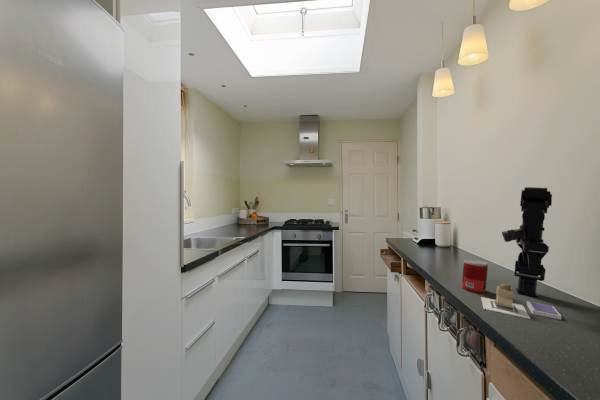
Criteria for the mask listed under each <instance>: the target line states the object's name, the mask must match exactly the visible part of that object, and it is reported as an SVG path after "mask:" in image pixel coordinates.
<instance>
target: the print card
mask: <svg viewBox="0 0 600 400" xmlns="http://www.w3.org/2000/svg"><path fill="white" fill-rule="evenodd" d="M480 298H481V299H480V300H481V302H482V303H481V304H482V308H483V310H485V309H486V311H490V312H494V313H499V312H500V314H505V315H509V316H513V317H514V316H515V317H519V318H522V319H528V320H531V317H530V315H529V313H528V312H527V310H526V309H525V307H524V305H523V304H519V303H514V302H513V305H512V307H513V311H512V310H508V309H503V308H498V307H496V305H495V301H496V299H493V298H488V297H482V296H480Z"/></svg>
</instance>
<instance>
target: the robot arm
mask: <svg viewBox="0 0 600 400" xmlns="http://www.w3.org/2000/svg"><path fill="white" fill-rule="evenodd" d="M552 199H553V194H552V193H551V191H550V190H548V188H547V187H532V186H531V187H530V186H528V187H527V186H526V187H524V189H523V190H522V189H521V193H520V204H519V207H521V208H520V209H521V212H522V215H521V217H522V224H521V225H519V228H515V229H513V228H512V229H510V230H509V229H508V230H505V231H501V235H502V237H503V240H504V242H505V243H508V242H511V241H515V243H516V245H517V246H518V247H519V248H520V249H521V252H519V253H518V257H517V260H515V262H514V264H515V265H514V275H513V276H514V277H518V279H517V287H515V288H514V290H515V292H516V293H517V294H519V295H524V296H525V295H526V296H529V297H537V298H539V297H540V295H539V293H538V292H537V287H538V281H540V282H542V281H545V278H546V276H545V275H546V268H545V266H544V264H542V260H543V259H544V257H545V256H546V255H547V253H549V249H550V246H548V244H546V243H545V242H544V239H543V233H544V231H545V227H544V221H545V219H546V216H545V214H547V213H548V209H549V208H550V207H552Z"/></svg>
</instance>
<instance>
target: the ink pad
mask: <svg viewBox="0 0 600 400" xmlns="http://www.w3.org/2000/svg"><path fill="white" fill-rule="evenodd" d="M526 306H527V308H528V309H529V311H530V313H531V314H532V315H536V316H541V317H546V318H549V319H550V318H551V319H555V320H559V321H560V320H562V314H561V313H560V312H558V310H557V309H556V308H555V307H554V305H549V304H548V305H547V304H543V303H537V302H533V301H528V300H527V301H526Z"/></svg>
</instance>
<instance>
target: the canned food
mask: <svg viewBox="0 0 600 400" xmlns="http://www.w3.org/2000/svg"><path fill="white" fill-rule="evenodd" d="M488 266H489V263H487V262H485V261H482V260H476V259H464V260H463V267H462V278H461V279H462V282H461V287H462V289H463V290H465V291H467V292H471V293H476V294H484V293H485V292H486V290H487V281H488V268H489V267H488Z"/></svg>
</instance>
